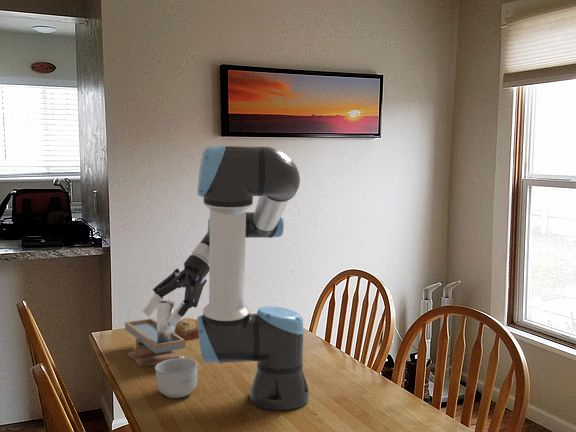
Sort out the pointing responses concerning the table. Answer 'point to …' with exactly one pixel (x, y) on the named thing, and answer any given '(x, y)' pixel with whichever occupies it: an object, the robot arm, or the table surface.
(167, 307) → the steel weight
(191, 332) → the bread roll
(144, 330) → the rectangular tray
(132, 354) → the fulcrum
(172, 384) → the teacup
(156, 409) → the table surface
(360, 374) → the table surface
